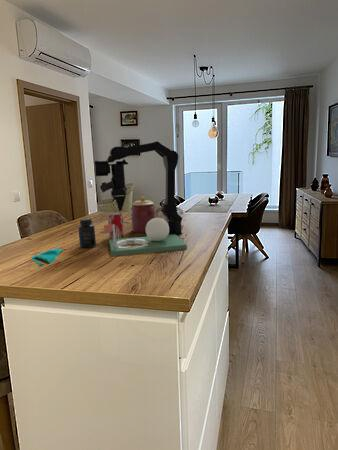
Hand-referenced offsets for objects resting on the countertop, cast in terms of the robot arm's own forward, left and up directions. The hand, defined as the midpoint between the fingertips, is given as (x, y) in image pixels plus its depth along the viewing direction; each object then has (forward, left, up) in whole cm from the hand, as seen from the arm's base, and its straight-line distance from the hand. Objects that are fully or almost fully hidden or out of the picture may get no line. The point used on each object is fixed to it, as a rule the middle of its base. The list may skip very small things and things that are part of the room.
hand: (120, 209), depth 155 cm
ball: (-13, +18, -7) cm, 24 cm away
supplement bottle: (+16, +9, -14) cm, 23 cm away
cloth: (+31, +21, -15) cm, 40 cm away
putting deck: (-8, +18, -14) cm, 24 cm away
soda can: (+3, -2, -14) cm, 15 cm away
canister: (-12, -15, -14) cm, 24 cm away
